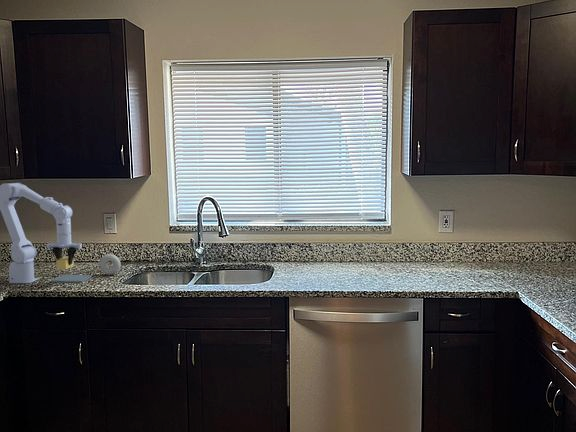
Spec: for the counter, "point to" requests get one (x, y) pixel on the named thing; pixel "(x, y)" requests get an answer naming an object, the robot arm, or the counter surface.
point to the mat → (71, 279)
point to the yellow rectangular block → (63, 263)
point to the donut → (114, 260)
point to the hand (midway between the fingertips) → (65, 264)
